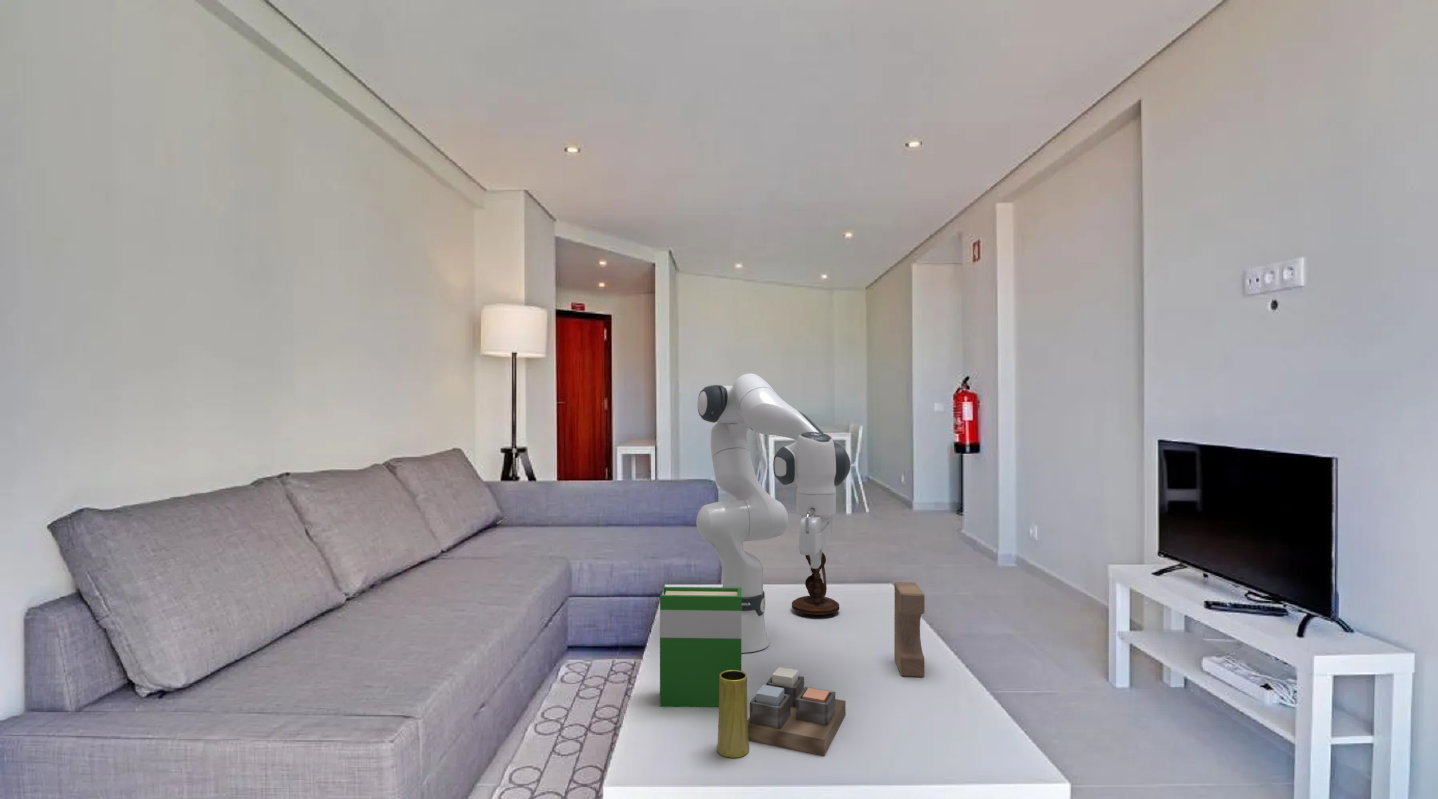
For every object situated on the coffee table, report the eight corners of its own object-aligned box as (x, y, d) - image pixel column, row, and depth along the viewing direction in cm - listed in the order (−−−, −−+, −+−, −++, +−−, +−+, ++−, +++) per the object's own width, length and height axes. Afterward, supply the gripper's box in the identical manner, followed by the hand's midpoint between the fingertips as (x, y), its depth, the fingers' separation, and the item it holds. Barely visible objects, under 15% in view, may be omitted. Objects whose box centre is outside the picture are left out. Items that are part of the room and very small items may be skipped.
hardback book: (659, 706, 149) (659, 596, 149) (663, 692, 156) (663, 586, 156) (741, 708, 148) (741, 596, 148) (741, 693, 156) (741, 587, 156)
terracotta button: (802, 712, 137) (802, 696, 137) (808, 703, 141) (808, 687, 141) (824, 716, 135) (824, 700, 135) (829, 707, 140) (829, 691, 140)
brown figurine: (842, 619, 208) (843, 553, 208) (794, 619, 208) (794, 553, 208) (835, 605, 222) (835, 543, 222) (789, 604, 223) (789, 543, 223)
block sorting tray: (744, 739, 135) (744, 703, 135) (773, 701, 151) (773, 670, 151) (824, 755, 128) (824, 718, 128) (845, 714, 145) (845, 681, 145)
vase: (715, 742, 133) (715, 669, 133) (747, 741, 134) (747, 668, 134) (718, 759, 127) (718, 682, 127) (751, 757, 128) (751, 681, 128)
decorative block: (924, 678, 164) (924, 594, 164) (900, 676, 165) (900, 593, 165) (917, 660, 175) (917, 582, 175) (894, 659, 176) (894, 581, 176)
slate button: (756, 709, 136) (756, 693, 136) (763, 700, 140) (763, 684, 140) (777, 713, 134) (777, 697, 134) (784, 704, 138) (784, 688, 138)
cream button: (772, 689, 145) (772, 674, 145) (778, 681, 149) (778, 667, 149) (792, 693, 143) (792, 677, 143) (798, 685, 147) (798, 670, 147)
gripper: (821, 513, 143) (821, 579, 143) (837, 499, 162) (836, 558, 162) (792, 511, 145) (792, 577, 145) (810, 498, 164) (810, 556, 164)
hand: (815, 567), depth 154 cm, fingers closed
